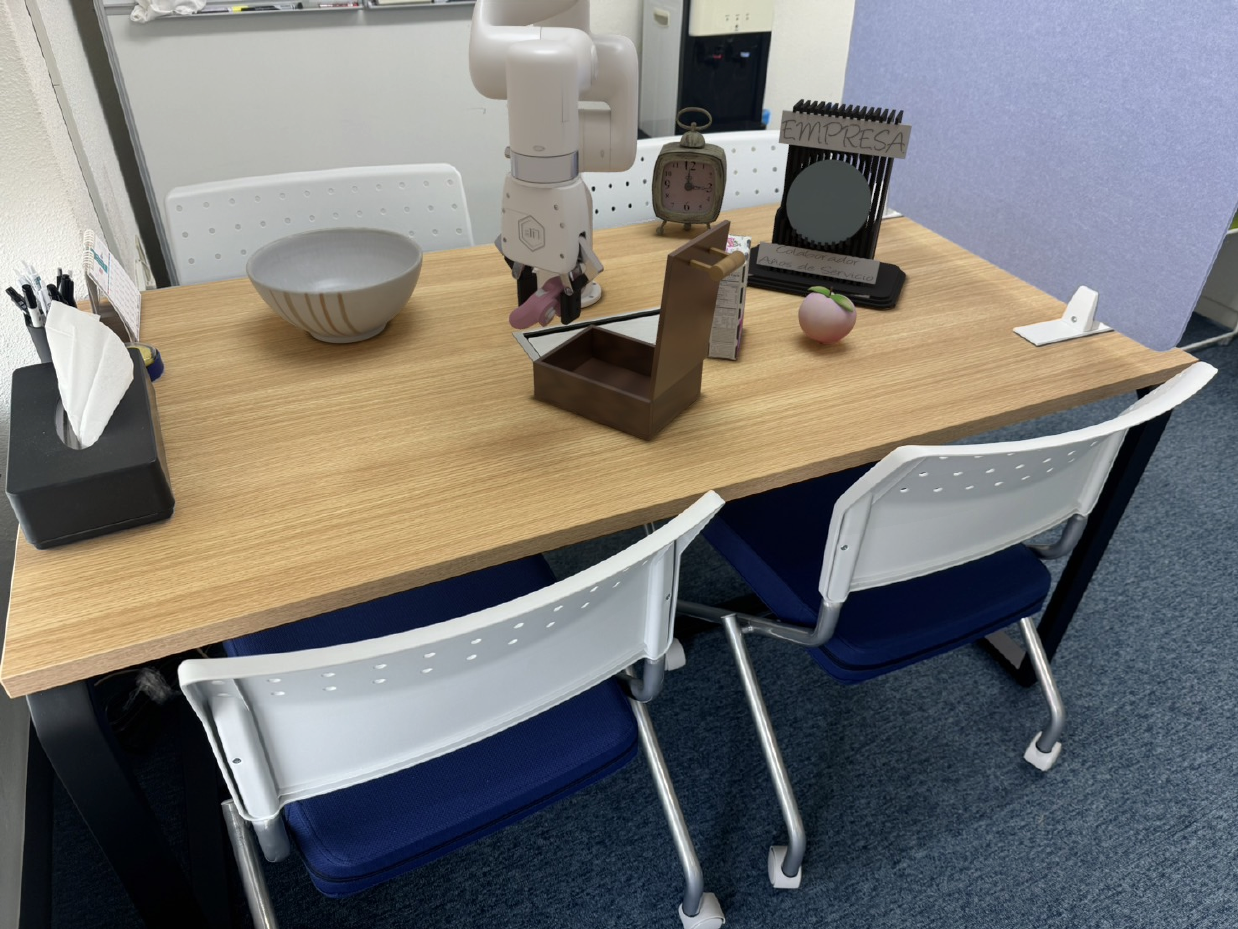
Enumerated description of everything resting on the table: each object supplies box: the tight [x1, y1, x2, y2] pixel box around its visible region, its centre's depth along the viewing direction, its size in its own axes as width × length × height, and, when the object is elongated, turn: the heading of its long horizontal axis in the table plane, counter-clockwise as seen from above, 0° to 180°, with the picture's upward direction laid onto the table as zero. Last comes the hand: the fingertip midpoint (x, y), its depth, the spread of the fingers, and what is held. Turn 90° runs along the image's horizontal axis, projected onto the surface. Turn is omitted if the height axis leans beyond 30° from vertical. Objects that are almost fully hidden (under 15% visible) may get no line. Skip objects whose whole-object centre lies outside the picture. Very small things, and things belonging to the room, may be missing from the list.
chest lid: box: [648, 219, 746, 401], centre depth 111 cm, size 20×15×6 cm
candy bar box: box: [707, 233, 753, 361], centre depth 136 cm, size 11×5×16 cm, turn 168°
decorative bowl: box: [245, 226, 424, 344], centre depth 140 cm, size 27×27×12 cm
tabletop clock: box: [651, 106, 728, 236], centre depth 174 cm, size 14×9×25 cm, turn 80°
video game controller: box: [508, 272, 586, 330], centre depth 105 cm, size 10×5×7 cm, turn 147°
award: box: [747, 98, 913, 310], centre depth 154 cm, size 30×19×30 cm, turn 67°
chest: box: [532, 324, 704, 442], centre depth 125 cm, size 20×15×6 cm
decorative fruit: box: [797, 286, 858, 345], centre depth 138 cm, size 9×8×10 cm
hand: (549, 312), depth 106 cm, fingers closed on video game controller, 5 cm apart
